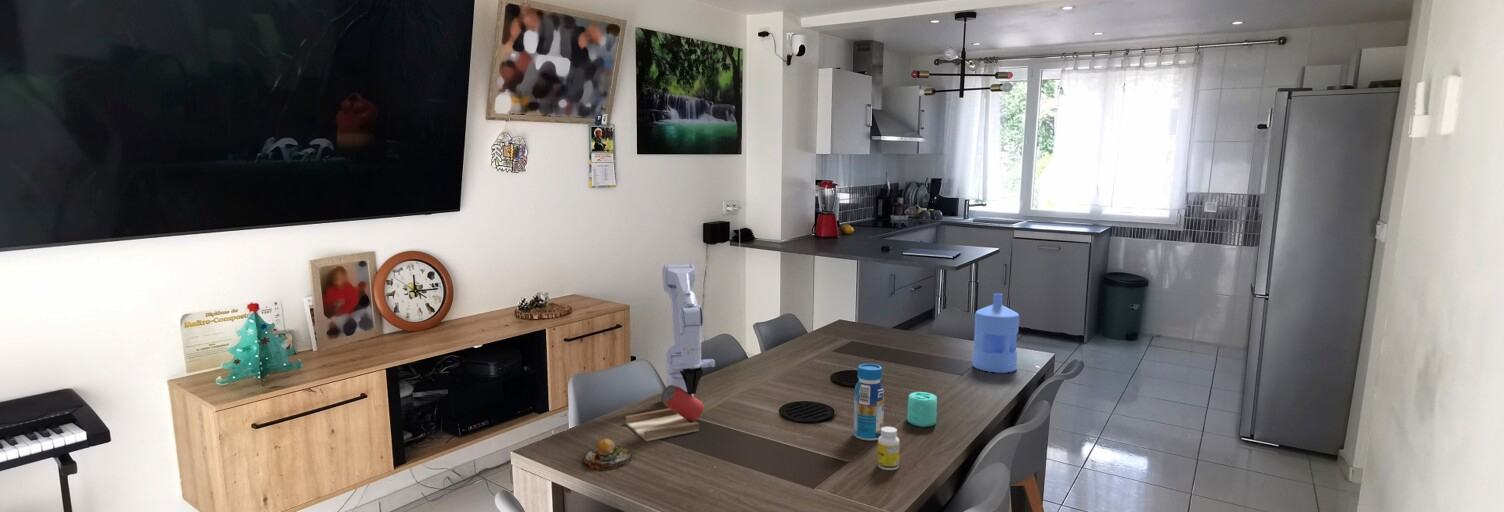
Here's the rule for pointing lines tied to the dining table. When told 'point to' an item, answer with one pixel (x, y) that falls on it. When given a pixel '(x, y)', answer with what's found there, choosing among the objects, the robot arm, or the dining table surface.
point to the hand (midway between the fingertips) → (691, 393)
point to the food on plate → (608, 455)
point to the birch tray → (660, 424)
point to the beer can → (682, 403)
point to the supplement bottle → (888, 449)
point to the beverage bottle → (868, 403)
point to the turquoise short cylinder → (922, 409)
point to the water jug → (996, 338)
